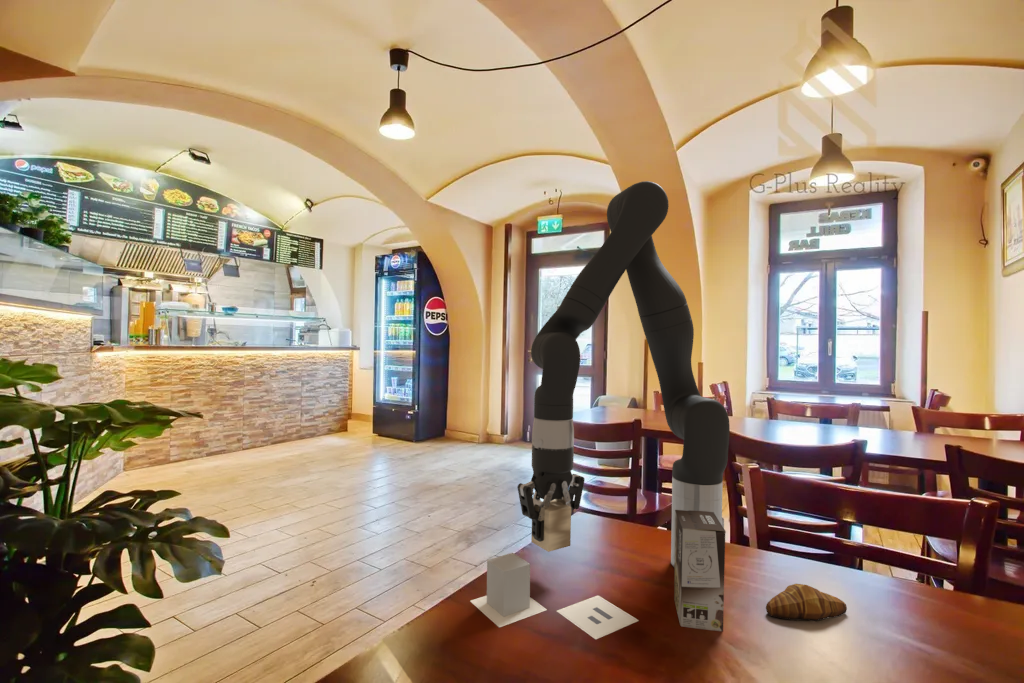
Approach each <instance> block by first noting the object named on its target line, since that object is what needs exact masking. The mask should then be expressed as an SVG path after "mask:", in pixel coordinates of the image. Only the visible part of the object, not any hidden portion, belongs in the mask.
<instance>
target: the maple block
mask: <svg viewBox="0 0 1024 683" xmlns="http://www.w3.org/2000/svg"><path fill="white" fill-rule="evenodd" d="M539 508H540V506H538V511H539ZM543 520H544V540H543V541H540V542H539V541H538V540H536V539H534V537H533V536H532V535H531V543H533V544H534V545H536V546H537V547H539V548H541V549H543V550H545V551H546V552H548V553H549V552H553V551H557V550H559V549H564V548H567V547H571V535H572V534H571V530H572V513H571V507H570V506H568V505H563V503H561V502H557V501H556V500H555V499H554V500H552V501H551V502H550V505H549V508H547V509H545V515H544V519H543Z"/></svg>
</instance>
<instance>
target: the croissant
mask: <svg viewBox="0 0 1024 683" xmlns="http://www.w3.org/2000/svg"><path fill="white" fill-rule="evenodd" d="M765 609H766V613H767V614H768V616H771V617H774V618H777V619H783V620H800V621H802V620H804V621H811V622H813V621H815V622H817V621H818V622H819V621H822V620H825V619H828V618H829V619H830V618H831V619H833V618H837V617H841V616H843V615H844V614H846V613H847V609H848V608H847V604H846V603H845V602H844V601H843V600H842V599H840V598H838V597H837V596H834V595H831V594H829V593H825V592H823V591H820V590H819V589H817V588H816V587H812V586H810V585H809V584H808V585H807V584H803V583H802V584H801V583H794V584H790V585H788V586H786V587H785V589H784V590H783V591H780V592H779V593H777V594H776V595H775V596H773V597H772V598H770V600H769V601H768V602H767V603H766V606H765Z"/></svg>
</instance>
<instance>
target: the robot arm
mask: <svg viewBox="0 0 1024 683" xmlns="http://www.w3.org/2000/svg"><path fill="white" fill-rule="evenodd" d="M668 212H669V198H668V195H667V193H666V191H665V190H664V188H663V187H662V186H660V184H658V183H656V182H653V181H649V180H643V181H640V182H637V183H633V184H631V185H630V186H628V187H626V188H624V190H622V191H620V192H619V193H617V194H616V195H615V196H614V197H612V198H611V200H610V201H609V202H608V205H607V208H606V219H607V225H608V227H609V230H610V233H609V235H608V237H607V238H606V239H605V241H604V242H603V243H602V245H601V247H600V248H599V249H598V251H597V252H596V253H595V254H594V255H593V256H592V257H591V259H590V260H589V261H588V262H587V263H586V265H585V266H584V267H583V268H582V270H581V271H580V272H579V273H578V275H577V276H576V278H575V279H574V280H573V282H572V284H571V285H570V287H569V289H568V291H567V292H566V294H565V296H564V298H563V299H562V301H561V303H560V305H559V307H558V308H557V309H556V311H554V313H553V314H552V315H551V316H550V317H549V319H548V320H547V321H546V323H545V324H544V325H543V326H542V327H541V329H540V330H539V332H537V334H536V336H535V338H534V339H533V342H532V345H531V348H530V355H531V359H532V361H533V363H534V364H535V365H536V366H537V367H538V368H539V369H542V374H541V381H540V385H539V386H537V387H536V388H535V391H534V401H533V402H534V404H533V406H534V410H533V424H532V432H531V433H532V434H531V435H532V436H531V468H532V471H533V473H532V476H531V478H530V481H528V482H526V483H519V484H517V488H516V489H517V493H518V499H519V503H520V509H521V513H522V515H523V516H524V517H526V518H529V519H530V520H531V537H532V536H533V537H534V539H536V540H538V541H539V542H540V541H543V540H544V520H543V519H544V515H545V509H547V508H549V505H550V502H551V501H552V500H556V501H557V502H561V503H563V505H568V506H570V507H571V514H572V513H573V511H574V510H578V509H579V508H580V505H581V500H582V495H583V491H584V490H583V489H584V485H585V477H584V476H582V475H578V474H576V473H572V470H573V468H574V458H575V457H574V450H575V448H574V447H575V446H574V445H575V444H574V443H575V428H574V392H575V388H576V385H577V381H578V377H579V373H580V372H579V371H580V366H581V350H580V346H579V344H578V341H577V340H578V337H579V336H580V335H581V334H582V333H584V332H585V331H587V330H589V329H590V328H591V327H592V326H593V325H594V323H595V322H596V320H597V318H598V317H599V315H600V313H601V312H602V310H603V308H604V306H605V305H606V304H607V302H608V300H609V298H610V296H611V294H612V293H613V291H614V289H615V287H616V286H617V285H618V283H619V281H620V280H621V278H622V276H623V275H624V273H625V272H626V274H627V277H628V281H629V284H630V285H629V286H630V287H631V291H632V294H633V297H634V301H635V303H636V308H637V312H638V316H639V320H640V323H641V326H642V329H643V333H644V335H645V336H644V337H645V339H646V341H647V344H648V348H649V352H650V355H651V359H652V361H653V362H652V363H653V366H654V369H655V372H656V375H657V378H658V383H659V387H660V394H661V399H662V404H663V409H664V410H663V411H664V416H665V421H666V423H667V426H668V428H669V430H670V432H672V434H674V435H675V436H676V437H678V438H679V439H681V440H683V442H682V443H683V444H682V445H683V447H682V455H681V458H679V459H677V460H675V461H674V462H673V463H672V466H671V467H672V468H671V471H672V473H671V476H672V478H671V481H672V482H671V491H672V492H671V531H670V532H671V533H670V534H671V535H670V537H671V539H670V540H671V541H670V564H671V566H672V567H673V568H674V558H675V510H684V511H689V510H690V511H708V512H714V514H715V515H716V517H717V518H718V520H719V522H720V523H721V525H722V526H723V528H724V529H725V519H724V517H723V479H724V478H723V476H724V472H725V470H726V468H727V465H728V462H729V461H728V460H729V458H728V457H729V448H730V447H729V446H730V429H731V428H730V418H729V417H730V416H729V414H728V412H727V409H726V408H725V406H724V405H723V404H722V403H721V402H720V401H717V399H716V400H715V399H713V398H710V397H704V396H701V392H700V391H699V389H698V386H697V383H696V378H695V376H694V372H693V368H692V367H693V366H692V357H693V356H692V354H693V346H694V339H695V338H694V336H695V334H694V333H695V330H694V329H695V328H694V323H693V319H692V316H691V312H690V308H689V305H688V301H687V298H686V296H685V294H684V291H683V290H682V288H681V286H680V285H679V283H678V282H677V281H676V279H674V277H673V275H672V274H671V273H670V272H669V271H668V269H667V268H666V267H665V266H664V263H663V262H662V260H661V259H660V257H659V255H658V253H657V250H656V247H655V242H654V239H653V234H655V232H656V231H657V230H658V229H659V227H660V226H661V225H662V223H663V222H664V220H665V219H666V217H667V216H668ZM541 499H542V500H541ZM538 506H540V508H539V511H538Z"/></svg>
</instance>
